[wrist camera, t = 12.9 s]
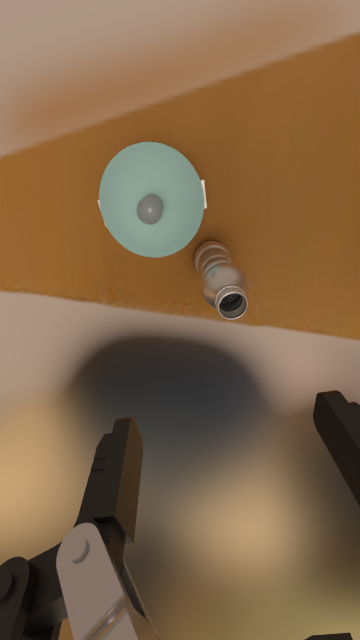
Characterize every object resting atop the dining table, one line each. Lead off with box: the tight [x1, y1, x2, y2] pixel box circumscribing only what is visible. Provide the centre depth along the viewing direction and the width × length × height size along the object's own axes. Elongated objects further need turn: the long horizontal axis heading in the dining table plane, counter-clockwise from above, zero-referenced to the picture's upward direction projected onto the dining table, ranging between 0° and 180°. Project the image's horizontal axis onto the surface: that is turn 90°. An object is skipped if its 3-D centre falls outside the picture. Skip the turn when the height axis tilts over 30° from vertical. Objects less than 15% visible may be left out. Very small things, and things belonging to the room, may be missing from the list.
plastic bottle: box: [194, 241, 248, 320], centre depth 37 cm, size 6×7×20 cm
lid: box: [99, 142, 204, 257], centre depth 31 cm, size 14×14×6 cm
